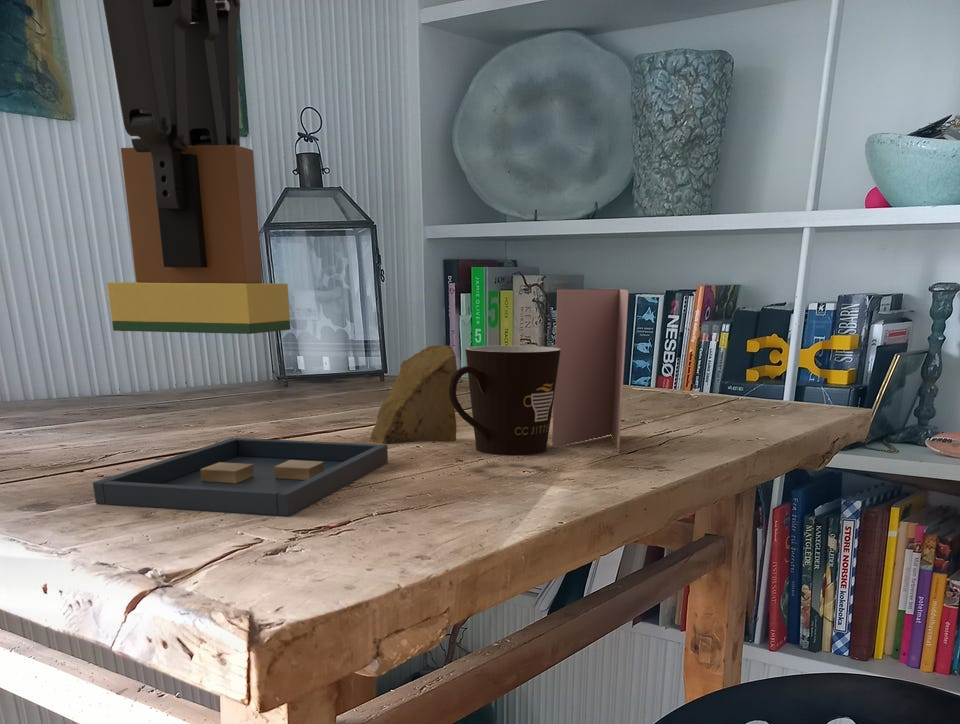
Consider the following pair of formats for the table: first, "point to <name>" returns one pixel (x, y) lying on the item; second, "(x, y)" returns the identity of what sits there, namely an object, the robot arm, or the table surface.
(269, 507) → the tray
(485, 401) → the coffee mug
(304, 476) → the chip
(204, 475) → the chip
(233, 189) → the sponge
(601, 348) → the greeting card
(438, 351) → the rock
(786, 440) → the table surface
